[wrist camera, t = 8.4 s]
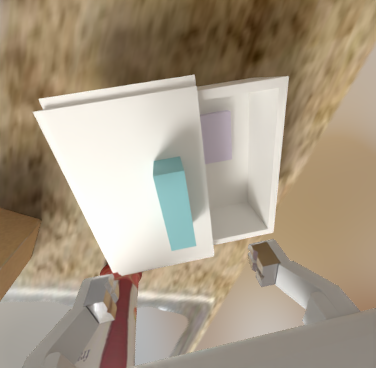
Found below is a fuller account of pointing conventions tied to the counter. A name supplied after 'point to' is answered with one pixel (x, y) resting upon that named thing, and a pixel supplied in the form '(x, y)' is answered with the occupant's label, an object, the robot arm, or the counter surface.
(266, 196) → the box
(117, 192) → the lid
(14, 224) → the sandwich container
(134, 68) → the counter surface
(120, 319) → the liquor
